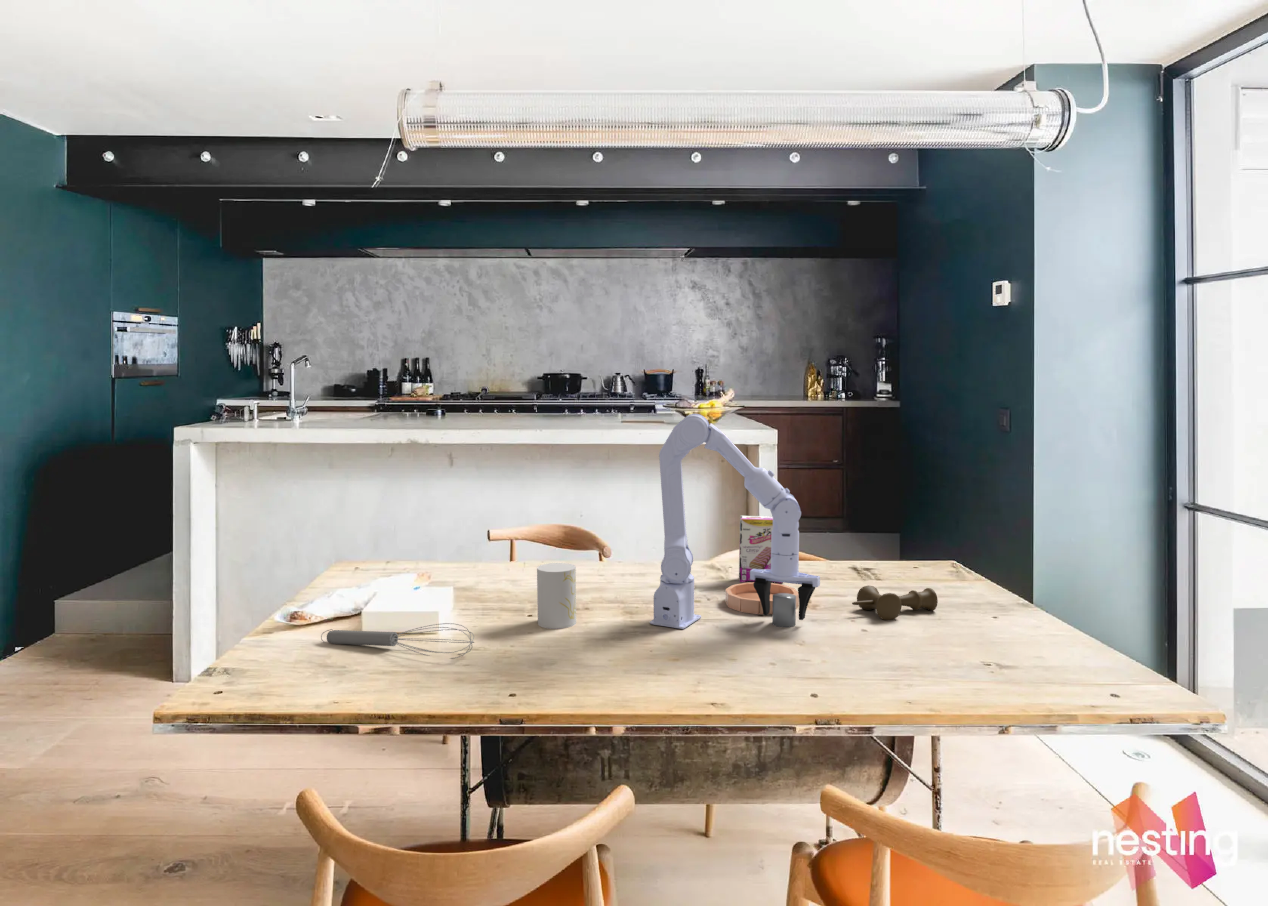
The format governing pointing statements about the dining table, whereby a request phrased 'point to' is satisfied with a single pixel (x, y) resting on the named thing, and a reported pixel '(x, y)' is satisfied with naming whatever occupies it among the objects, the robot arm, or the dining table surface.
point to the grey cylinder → (784, 610)
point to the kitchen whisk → (384, 638)
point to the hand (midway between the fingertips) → (784, 616)
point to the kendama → (894, 601)
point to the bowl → (753, 597)
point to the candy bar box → (754, 545)
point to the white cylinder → (556, 595)
